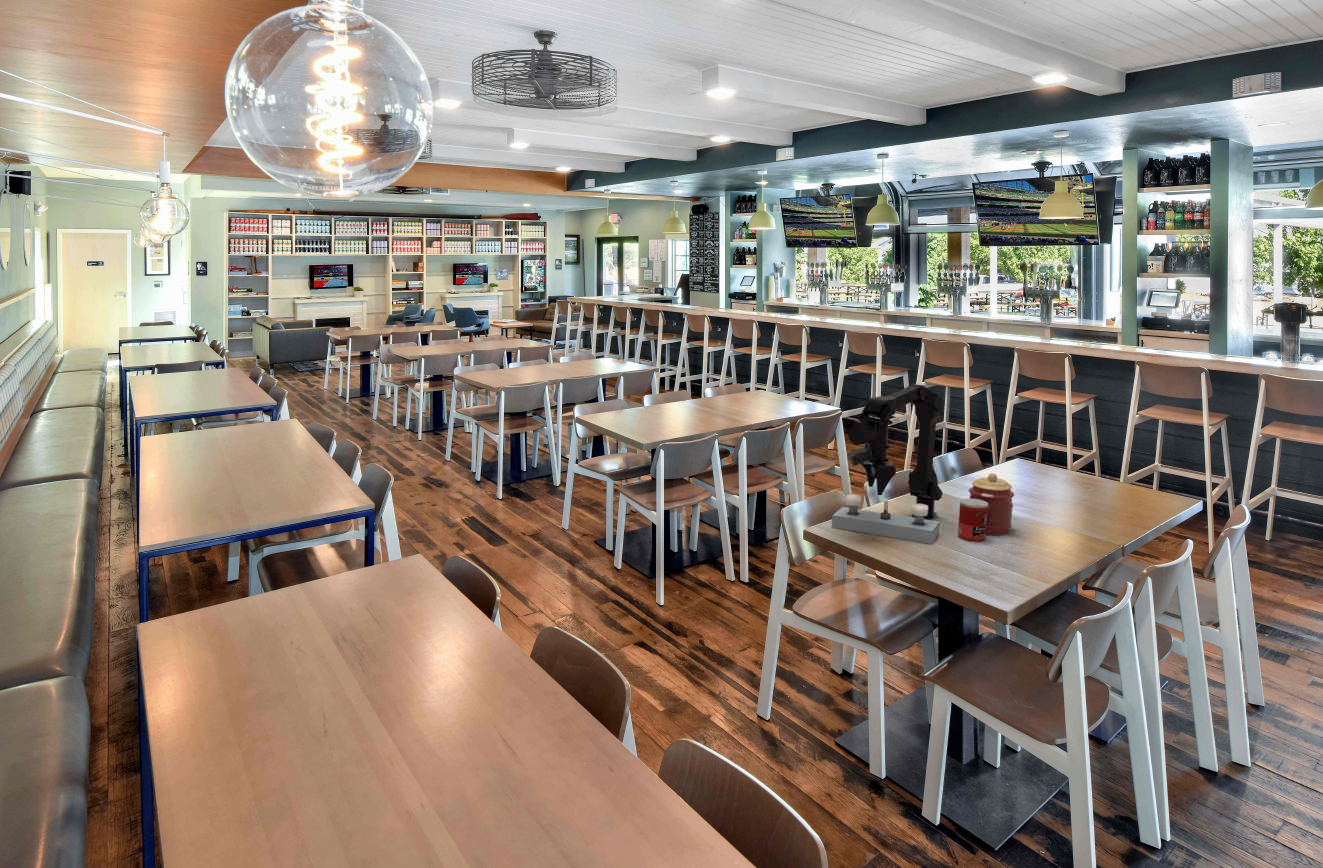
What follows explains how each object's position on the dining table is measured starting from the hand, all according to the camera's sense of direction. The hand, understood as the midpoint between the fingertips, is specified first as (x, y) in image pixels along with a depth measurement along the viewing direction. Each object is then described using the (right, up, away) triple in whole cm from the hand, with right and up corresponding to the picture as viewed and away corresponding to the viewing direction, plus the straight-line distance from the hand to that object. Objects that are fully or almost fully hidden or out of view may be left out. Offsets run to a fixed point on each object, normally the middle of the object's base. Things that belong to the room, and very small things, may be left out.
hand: (874, 490), depth 237 cm
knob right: (+12, -10, -2) cm, 16 cm away
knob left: (-5, -8, +8) cm, 12 cm away
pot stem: (+4, -9, +3) cm, 10 cm away
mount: (+4, -12, +3) cm, 14 cm away
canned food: (+28, -14, -3) cm, 31 cm away
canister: (+36, -12, +5) cm, 39 cm away
